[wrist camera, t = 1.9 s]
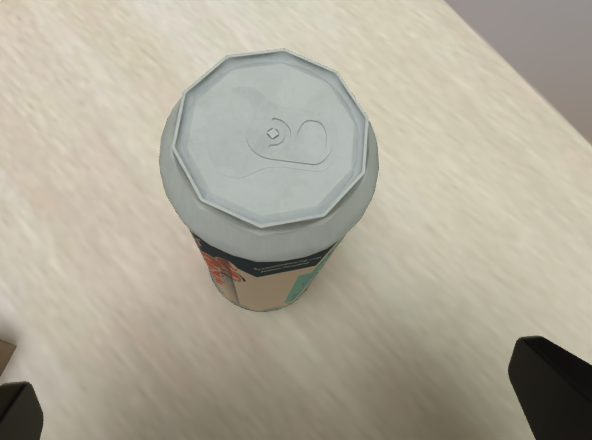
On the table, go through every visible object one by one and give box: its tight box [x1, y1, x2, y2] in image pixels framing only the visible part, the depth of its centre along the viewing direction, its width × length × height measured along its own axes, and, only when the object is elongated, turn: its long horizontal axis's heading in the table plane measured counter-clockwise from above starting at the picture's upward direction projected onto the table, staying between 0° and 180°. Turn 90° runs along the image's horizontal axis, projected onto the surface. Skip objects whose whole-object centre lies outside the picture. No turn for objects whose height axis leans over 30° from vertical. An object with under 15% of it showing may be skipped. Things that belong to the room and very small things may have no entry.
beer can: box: [159, 48, 379, 312], centre depth 15 cm, size 5×5×12 cm
